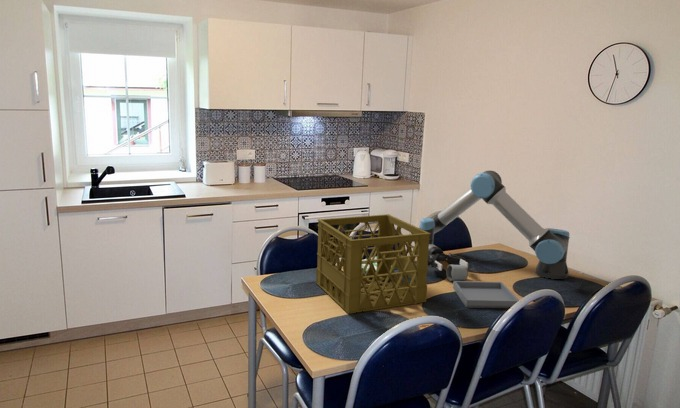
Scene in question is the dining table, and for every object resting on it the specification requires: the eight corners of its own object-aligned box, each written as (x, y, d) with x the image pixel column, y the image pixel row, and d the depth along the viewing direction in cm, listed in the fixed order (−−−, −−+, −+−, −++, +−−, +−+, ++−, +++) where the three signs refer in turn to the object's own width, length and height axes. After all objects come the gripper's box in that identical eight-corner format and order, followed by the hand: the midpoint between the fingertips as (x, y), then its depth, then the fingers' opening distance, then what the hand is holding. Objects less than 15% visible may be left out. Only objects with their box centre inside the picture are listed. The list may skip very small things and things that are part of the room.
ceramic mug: (468, 282, 237) (469, 266, 235) (452, 283, 235) (453, 267, 233) (458, 275, 247) (459, 260, 245) (442, 276, 245) (443, 260, 243)
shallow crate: (501, 288, 230) (501, 281, 229) (519, 308, 209) (520, 301, 208) (453, 287, 229) (453, 281, 229) (466, 307, 208) (466, 300, 207)
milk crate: (316, 284, 229) (317, 219, 223) (385, 275, 243) (388, 214, 237) (348, 315, 197) (350, 240, 191) (426, 303, 211) (430, 233, 205)
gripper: (455, 259, 264) (477, 272, 244) (411, 262, 257) (429, 276, 237) (456, 245, 262) (478, 257, 242) (411, 247, 255) (431, 260, 235)
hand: (454, 266), depth 239 cm, fingers open, 13 cm apart
